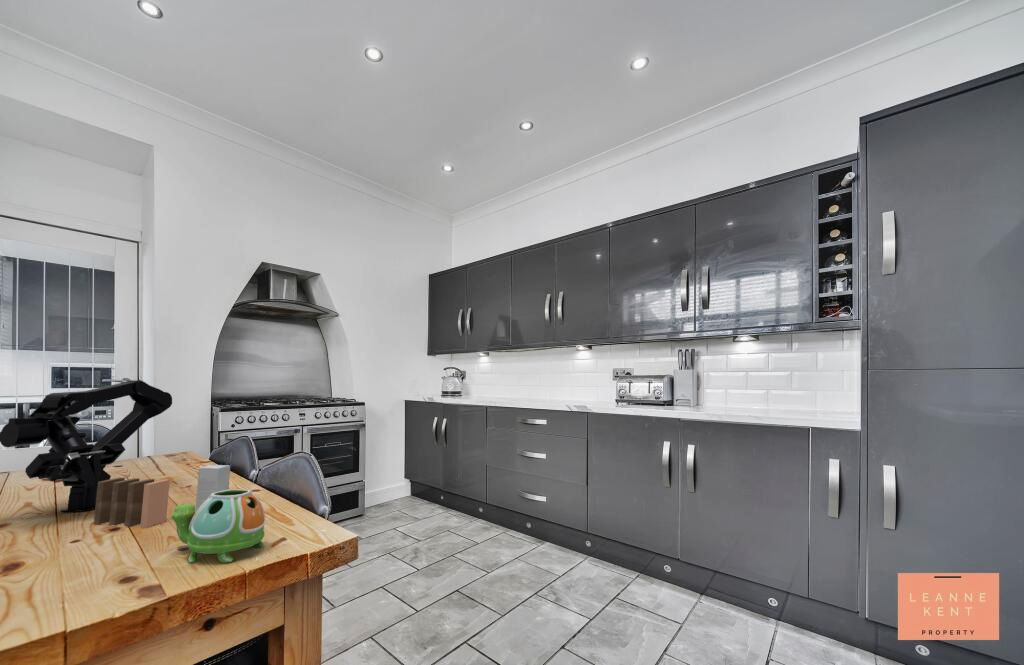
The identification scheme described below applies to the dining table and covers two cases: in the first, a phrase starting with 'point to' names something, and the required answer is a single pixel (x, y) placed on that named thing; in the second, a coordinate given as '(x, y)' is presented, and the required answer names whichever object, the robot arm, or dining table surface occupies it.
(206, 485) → the skincare box
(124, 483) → the domino
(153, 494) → the domino end
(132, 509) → the domino
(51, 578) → the dining table surface
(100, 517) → the domino
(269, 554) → the dining table surface
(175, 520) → the turtle holder
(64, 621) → the dining table surface
